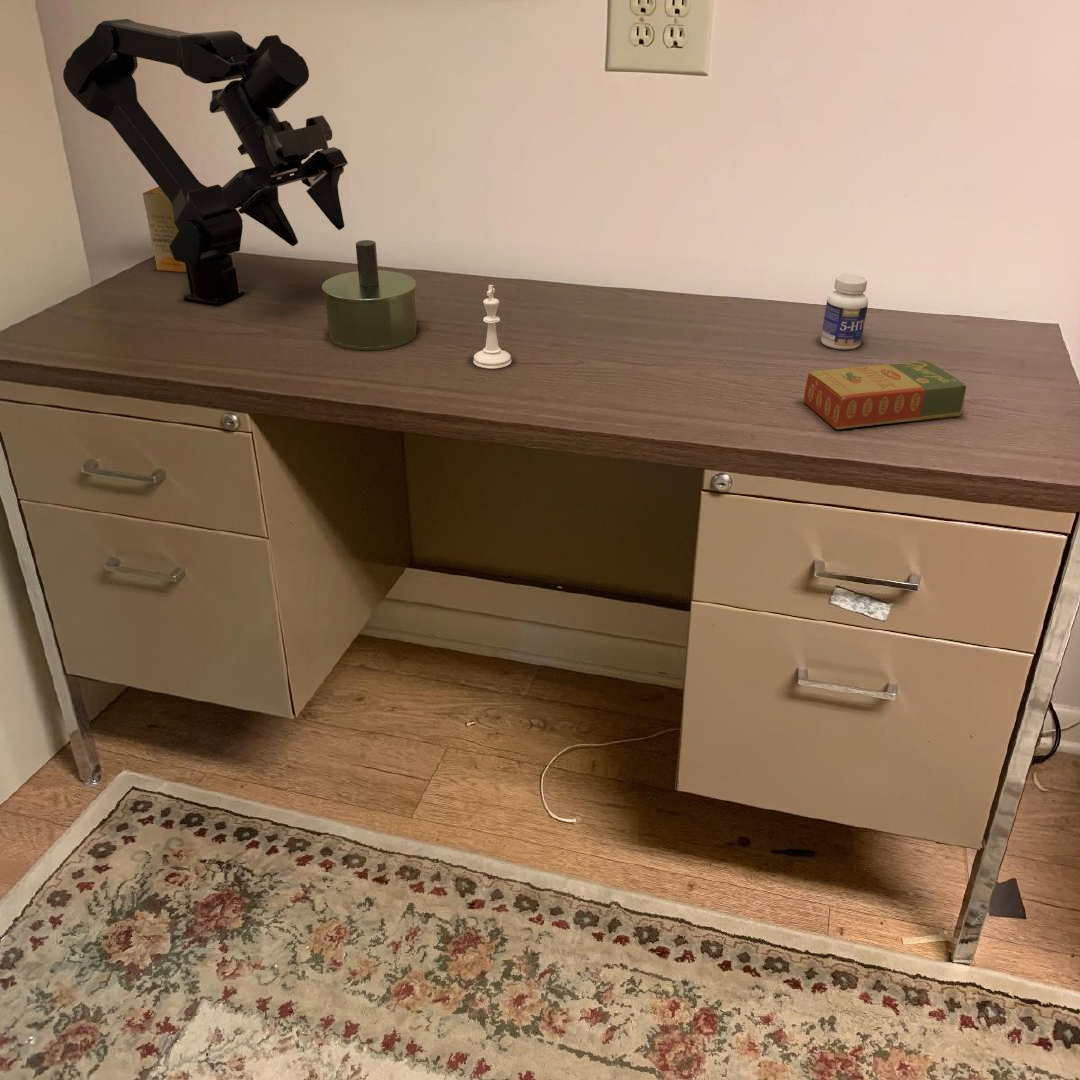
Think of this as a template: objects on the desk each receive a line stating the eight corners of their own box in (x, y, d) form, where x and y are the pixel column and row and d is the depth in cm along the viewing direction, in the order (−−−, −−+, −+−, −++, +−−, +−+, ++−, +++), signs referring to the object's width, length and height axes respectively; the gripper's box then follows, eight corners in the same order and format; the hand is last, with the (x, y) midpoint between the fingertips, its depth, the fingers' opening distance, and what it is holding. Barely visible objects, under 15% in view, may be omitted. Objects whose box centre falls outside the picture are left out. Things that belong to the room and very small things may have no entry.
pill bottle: (838, 353, 135) (849, 287, 131) (812, 340, 139) (822, 275, 135) (869, 346, 137) (881, 281, 133) (842, 334, 141) (853, 270, 137)
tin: (313, 342, 138) (307, 295, 134) (359, 316, 147) (355, 271, 143) (388, 356, 134) (384, 307, 130) (431, 327, 143) (428, 281, 139)
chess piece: (516, 357, 134) (516, 281, 128) (503, 370, 130) (502, 293, 124) (481, 352, 135) (479, 277, 130) (467, 365, 131) (464, 289, 126)
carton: (801, 403, 122) (806, 369, 120) (921, 389, 125) (928, 356, 123) (836, 432, 115) (842, 396, 113) (962, 417, 118) (970, 382, 116)
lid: (304, 300, 134) (298, 249, 131) (355, 274, 144) (350, 226, 141) (386, 313, 130) (382, 261, 127) (433, 285, 140) (430, 236, 136)
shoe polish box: (201, 263, 168) (188, 187, 162) (185, 272, 164) (171, 195, 158) (173, 261, 169) (159, 186, 163) (157, 270, 165) (142, 193, 159)
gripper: (237, 104, 122) (305, 225, 125) (340, 85, 136) (399, 194, 139) (191, 150, 130) (257, 263, 133) (294, 128, 143) (350, 230, 146)
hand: (319, 236), depth 137 cm, fingers open, 9 cm apart
